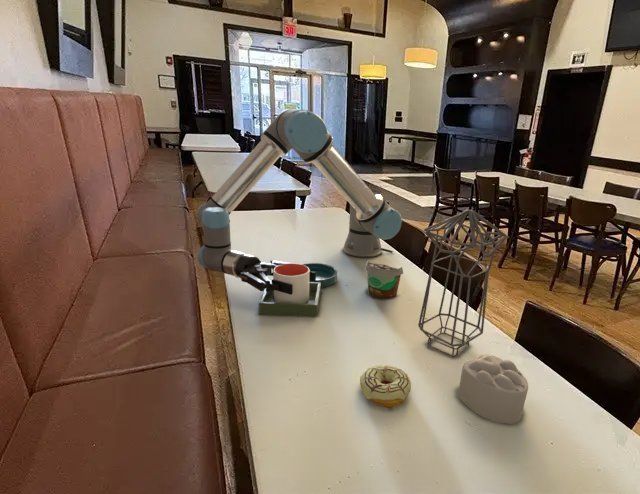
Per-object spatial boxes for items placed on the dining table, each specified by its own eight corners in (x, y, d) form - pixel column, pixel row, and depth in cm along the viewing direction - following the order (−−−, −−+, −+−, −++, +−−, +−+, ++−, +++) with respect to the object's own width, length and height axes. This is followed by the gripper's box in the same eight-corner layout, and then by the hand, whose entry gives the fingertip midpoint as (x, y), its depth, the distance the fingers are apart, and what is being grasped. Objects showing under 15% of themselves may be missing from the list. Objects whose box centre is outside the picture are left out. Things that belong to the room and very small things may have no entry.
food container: (357, 295, 129) (358, 265, 125) (365, 288, 134) (367, 259, 130) (393, 304, 125) (396, 273, 121) (400, 296, 130) (403, 267, 126)
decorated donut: (359, 409, 80) (360, 393, 79) (359, 375, 90) (360, 361, 89) (412, 410, 81) (414, 394, 80) (406, 376, 91) (407, 362, 90)
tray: (320, 292, 128) (320, 282, 127) (317, 316, 114) (317, 305, 113) (269, 290, 127) (269, 280, 125) (259, 314, 112) (258, 303, 111)
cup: (313, 296, 124) (313, 265, 121) (303, 311, 115) (303, 278, 111) (280, 292, 125) (280, 261, 121) (268, 306, 116) (267, 274, 112)
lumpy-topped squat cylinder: (484, 378, 93) (490, 345, 90) (533, 412, 83) (543, 376, 80) (451, 393, 87) (457, 358, 84) (500, 432, 77) (509, 394, 74)
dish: (337, 271, 145) (338, 263, 144) (336, 289, 131) (336, 281, 130) (293, 270, 144) (293, 262, 143) (287, 288, 130) (287, 279, 129)
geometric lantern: (405, 343, 104) (421, 207, 91) (440, 323, 115) (458, 199, 103) (459, 371, 95) (485, 223, 82) (491, 346, 106) (517, 213, 93)
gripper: (268, 266, 135) (325, 282, 127) (214, 290, 116) (277, 310, 108) (268, 244, 133) (326, 259, 124) (212, 265, 113) (277, 284, 105)
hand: (303, 283), depth 116 cm, fingers open, 10 cm apart
